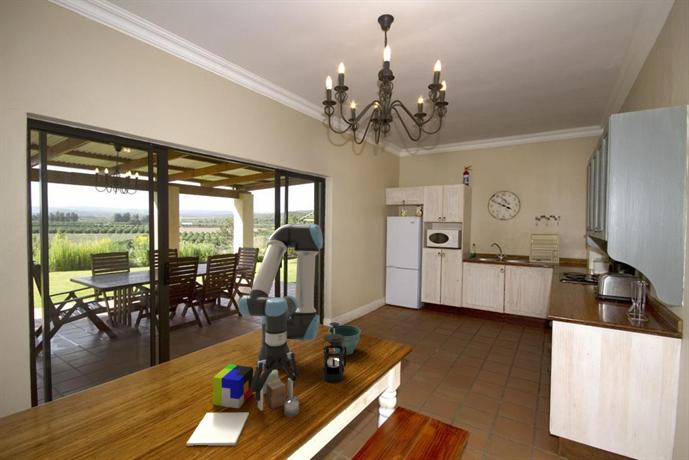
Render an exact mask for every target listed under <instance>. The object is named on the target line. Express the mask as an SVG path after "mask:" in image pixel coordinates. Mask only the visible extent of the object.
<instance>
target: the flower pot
mask: <svg viewBox="0 0 689 460" xmlns="http://www.w3.org/2000/svg"><path fill="white" fill-rule="evenodd" d="M328 334H334V328H333V326H331V327H330V328H328ZM335 334H340V335H343V336H344V337H345V339H344V343H343V345H344V346H346V356H348V355H351V354H353V353H354V351H355V349H356V348H357V346H358V345H359V342H360V337H361V329H360V328H359V327H357V326H354V325H348V324H339V325H338V326H335ZM343 345H341V346H343ZM333 350H334V353H335V354H336V353H340V349H339V348H333Z"/></svg>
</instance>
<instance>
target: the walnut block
mask: <svg viewBox="0 0 689 460" xmlns="http://www.w3.org/2000/svg"><path fill="white" fill-rule="evenodd" d="M265 396H266V398H265V399H266V404H267V405H268V406H269V407H270V408H271V409H272V410H273V409H276V408H279V407H281V406H284V400H285V399H286V384H285V383H284V381H282V380H281V379H279V378H278V380H275V381H272V382H269V383H266V394H265Z"/></svg>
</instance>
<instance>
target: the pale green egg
mask: <svg viewBox="0 0 689 460" xmlns="http://www.w3.org/2000/svg"><path fill="white" fill-rule="evenodd" d="M263 372H264V370H262V373H263ZM262 373H261V374H262ZM278 379H279V370H278V369H275V370H273V371H272V372H271V373H270V374H269V376H268V378H267V380H266V382H265V384H264V386H263V388H262V391H263V395H266V383H269V382H272V381H275V380H278Z"/></svg>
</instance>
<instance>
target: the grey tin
mask: <svg viewBox="0 0 689 460" xmlns="http://www.w3.org/2000/svg"><path fill="white" fill-rule="evenodd" d="M283 413H284V416H285V417H291V418H292V417H295V416H297V415H298V414H299V413H300V399H299V398H298V397H296V396H293V397H289V396H287V397H285V400H284V405H283Z"/></svg>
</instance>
